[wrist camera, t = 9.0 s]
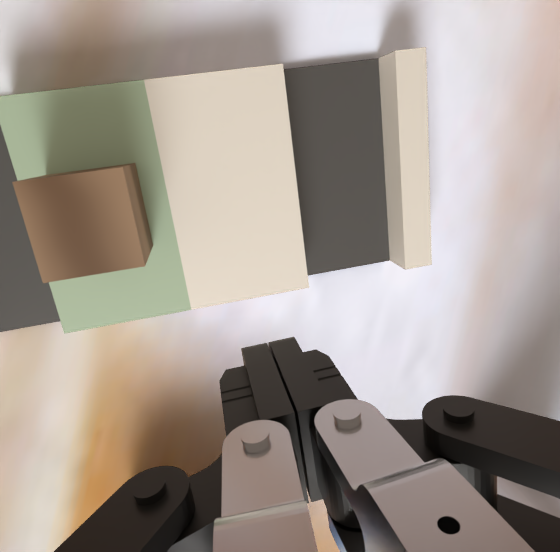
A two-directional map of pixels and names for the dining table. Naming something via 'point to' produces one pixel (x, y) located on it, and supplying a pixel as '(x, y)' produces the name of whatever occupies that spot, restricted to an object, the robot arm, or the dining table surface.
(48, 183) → the walnut block
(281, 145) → the trap deck
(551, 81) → the dining table surface
